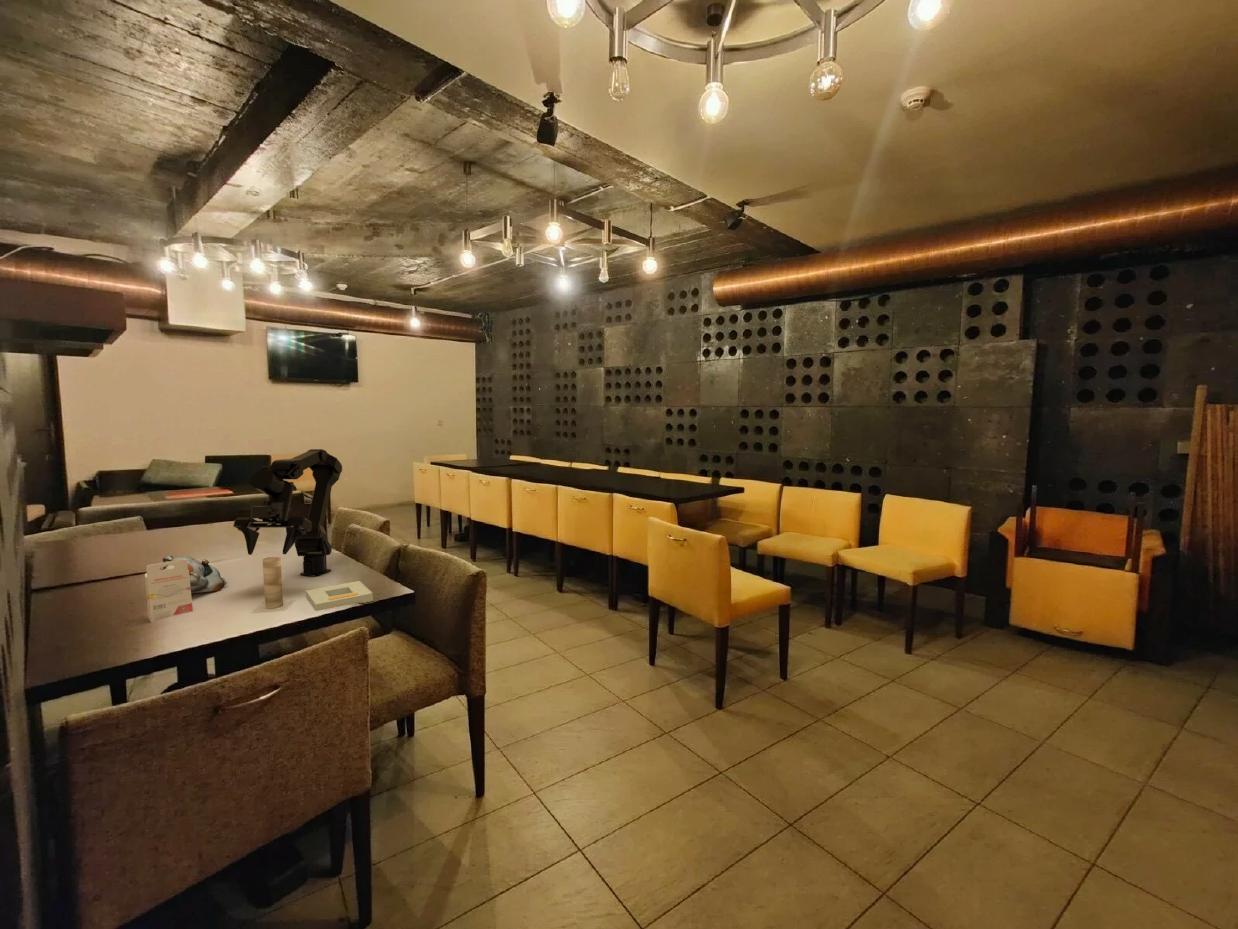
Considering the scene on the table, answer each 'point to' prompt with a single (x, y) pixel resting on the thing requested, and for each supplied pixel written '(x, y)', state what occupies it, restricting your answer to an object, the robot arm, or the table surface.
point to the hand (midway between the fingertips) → (266, 554)
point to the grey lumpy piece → (200, 574)
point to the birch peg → (272, 582)
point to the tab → (285, 606)
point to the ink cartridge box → (168, 590)
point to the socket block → (338, 595)
